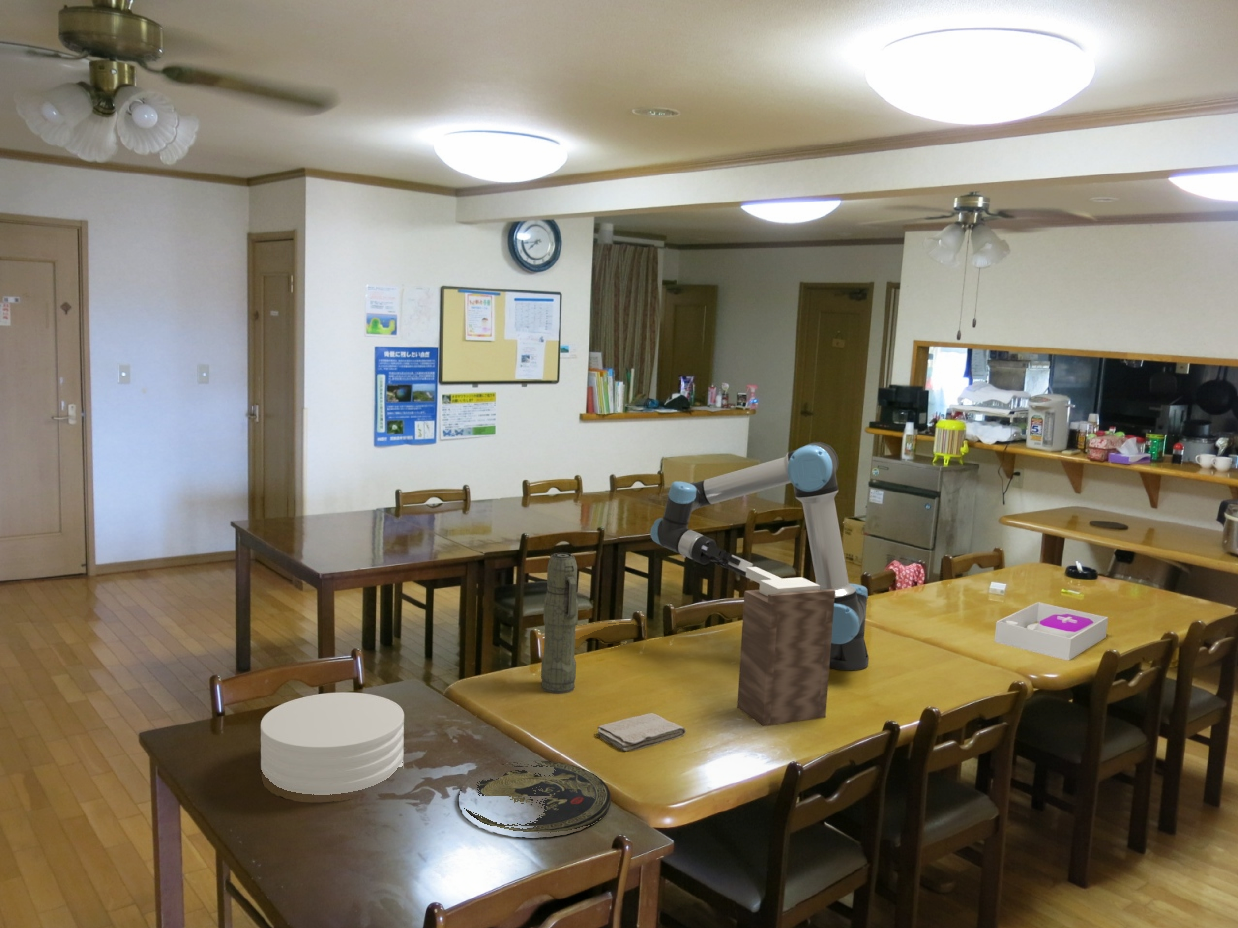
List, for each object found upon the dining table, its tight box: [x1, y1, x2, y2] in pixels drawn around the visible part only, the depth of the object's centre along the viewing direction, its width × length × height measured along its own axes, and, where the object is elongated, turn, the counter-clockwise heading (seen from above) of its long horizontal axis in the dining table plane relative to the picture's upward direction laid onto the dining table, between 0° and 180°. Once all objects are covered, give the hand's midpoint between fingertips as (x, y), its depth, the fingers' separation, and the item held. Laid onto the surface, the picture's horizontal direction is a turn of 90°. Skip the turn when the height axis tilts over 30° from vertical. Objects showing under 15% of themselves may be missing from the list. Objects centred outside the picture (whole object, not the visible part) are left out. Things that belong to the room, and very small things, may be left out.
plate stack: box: [260, 692, 405, 795], centre depth 200 cm, size 28×28×12 cm
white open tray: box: [994, 601, 1109, 661], centre depth 311 cm, size 22×35×7 cm, turn 137°
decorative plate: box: [458, 760, 612, 833], centre depth 192 cm, size 30×2×30 cm
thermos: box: [540, 552, 579, 695], centre depth 249 cm, size 9×12×35 cm
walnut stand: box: [736, 589, 835, 727], centre depth 239 cm, size 18×12×32 cm, turn 114°
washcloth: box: [596, 712, 687, 752], centre depth 224 cm, size 12×18×3 cm, turn 129°
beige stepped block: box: [745, 566, 820, 596], centre depth 244 cm, size 12×22×3 cm, turn 24°
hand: (760, 575), depth 262 cm, fingers open, 13 cm apart
